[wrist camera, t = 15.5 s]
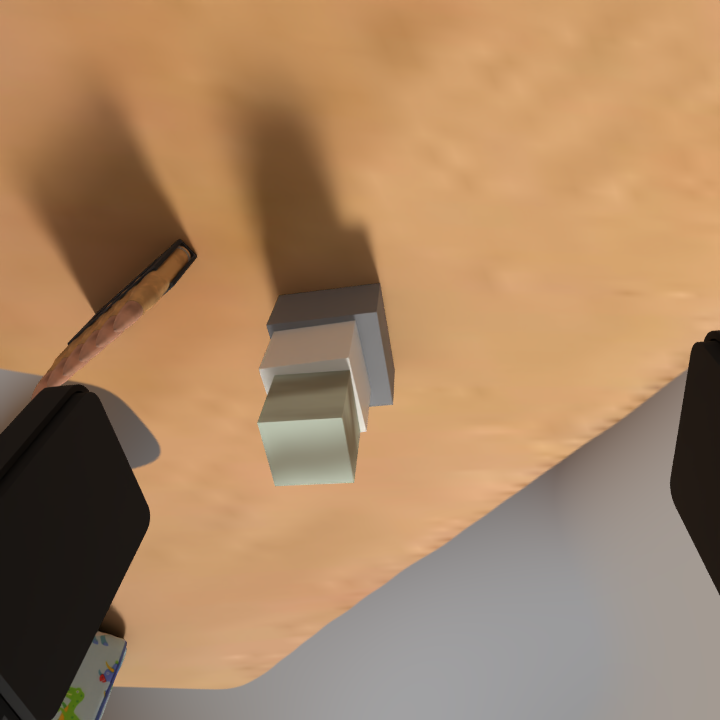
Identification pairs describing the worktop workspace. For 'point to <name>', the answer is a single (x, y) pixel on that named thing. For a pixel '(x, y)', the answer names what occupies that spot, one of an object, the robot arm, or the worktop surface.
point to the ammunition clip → (119, 314)
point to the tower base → (344, 307)
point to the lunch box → (93, 679)
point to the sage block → (311, 428)
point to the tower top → (320, 358)
